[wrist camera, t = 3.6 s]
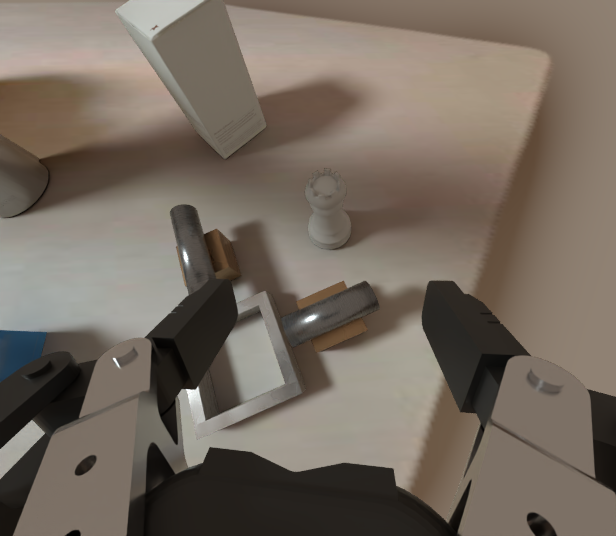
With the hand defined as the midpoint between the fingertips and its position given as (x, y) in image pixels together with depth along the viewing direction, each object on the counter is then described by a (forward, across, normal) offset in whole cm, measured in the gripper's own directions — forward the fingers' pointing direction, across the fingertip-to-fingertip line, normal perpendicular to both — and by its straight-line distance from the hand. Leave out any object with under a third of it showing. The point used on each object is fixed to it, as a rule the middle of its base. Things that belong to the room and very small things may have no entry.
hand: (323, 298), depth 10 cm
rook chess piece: (+16, 0, +2) cm, 16 cm away
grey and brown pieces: (+11, +7, +7) cm, 15 cm away
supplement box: (+27, +14, -8) cm, 31 cm away
